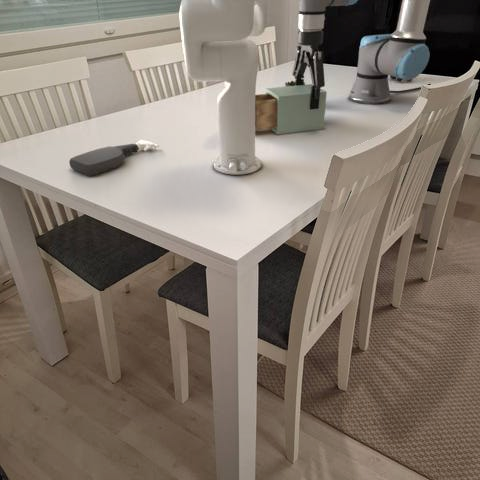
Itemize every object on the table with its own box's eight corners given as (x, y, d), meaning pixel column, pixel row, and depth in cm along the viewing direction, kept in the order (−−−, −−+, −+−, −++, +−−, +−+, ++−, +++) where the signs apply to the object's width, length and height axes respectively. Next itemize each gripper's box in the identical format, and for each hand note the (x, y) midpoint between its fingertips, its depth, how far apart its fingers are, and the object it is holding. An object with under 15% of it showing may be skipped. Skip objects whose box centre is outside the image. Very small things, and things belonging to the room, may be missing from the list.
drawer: (232, 136, 137) (231, 104, 132) (223, 127, 145) (222, 96, 140) (293, 128, 142) (295, 97, 137) (281, 120, 150) (282, 90, 145)
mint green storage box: (277, 134, 141) (278, 96, 134) (265, 124, 150) (265, 88, 143) (323, 128, 145) (326, 91, 139) (308, 119, 154) (311, 84, 148)
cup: (281, 105, 168) (282, 83, 164) (288, 101, 173) (289, 79, 169) (299, 108, 165) (301, 85, 161) (306, 103, 170) (308, 81, 166)
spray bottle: (67, 168, 120) (139, 144, 136) (91, 178, 114) (163, 151, 130) (65, 157, 118) (137, 134, 134) (89, 167, 112) (162, 142, 128)
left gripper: (254, 55, 124) (254, 120, 134) (239, 46, 136) (240, 106, 146) (229, 57, 122) (230, 122, 132) (215, 48, 135) (217, 109, 144)
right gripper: (341, 34, 124) (333, 112, 136) (305, 25, 143) (301, 94, 155) (317, 35, 122) (311, 115, 134) (283, 26, 141) (281, 96, 153)
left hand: (235, 114), depth 139 cm, fingers closed
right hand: (306, 104), depth 145 cm, fingers closed on mint green storage box, 11 cm apart
